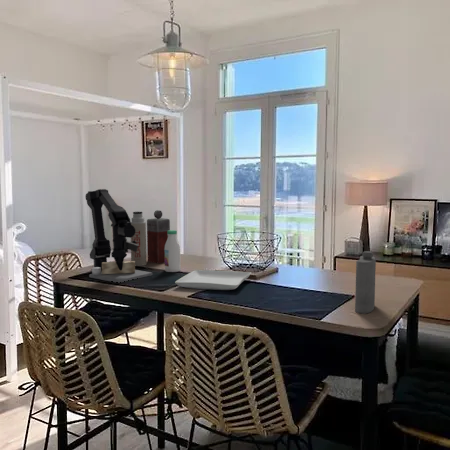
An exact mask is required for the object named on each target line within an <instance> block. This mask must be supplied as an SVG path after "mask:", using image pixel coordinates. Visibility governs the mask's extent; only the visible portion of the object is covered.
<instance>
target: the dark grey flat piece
mask: <svg viewBox="0 0 450 450" xmlns="http://www.w3.org/2000/svg"><path fill="white" fill-rule="evenodd" d="M109 262H112V261H109ZM91 269H92V270H91V273H90V274H89V275H88V277H89V278H91V279H96V280H102V281H106V282H111V281H113V282H112V283H116V282H118V284H120V282H121V283H125V282H128V280H129V281H133V280H132V279H134V280H137V278H138V279H141V278H146V277H150V276H153V272H152V271H144V270H139V269H135V273H117V274H102V271H101V267H94V266H93V267H92V268H91ZM124 281H125V282H124Z"/></svg>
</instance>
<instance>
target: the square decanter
mask: <svg viewBox="0 0 450 450" xmlns="http://www.w3.org/2000/svg"><path fill="white" fill-rule="evenodd" d="M153 216H154V218H148V219H146V253H147V262H148V263H154V264H162V263H164V264H165V244H166V241H167V239H168V234H167V231H169V230H171V221H170V218H162V217H163V211H162V210H158V209H157V210H155V211H154V213H153Z"/></svg>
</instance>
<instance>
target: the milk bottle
mask: <svg viewBox="0 0 450 450" xmlns="http://www.w3.org/2000/svg"><path fill="white" fill-rule="evenodd" d="M177 231H178V230H175V229H170V230H169V231H167V234H168V239H167V241H166V244H165V262H164V271H165V272H166V273H177V272H181V246H180V243H179V241H178V235H177V234H178V232H177Z"/></svg>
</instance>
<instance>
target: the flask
mask: <svg viewBox="0 0 450 450" xmlns="http://www.w3.org/2000/svg"><path fill="white" fill-rule="evenodd" d="M355 262H356V263H355V265H356V266H355V296H354V297H355V299H354V300H355V301H354V304H355V305H354V311H355V313H357V314H364V315H365V314H369V313H372V312H373V311H374V309H375V304H376V303H375V299H376V295H375V294H376V268H377V267H376V265H377V259H376V256H374V253H373V252H372V251H367V250H364V251H363V252H362V255H360V256H359V259H357V260H356V261H355Z"/></svg>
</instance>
